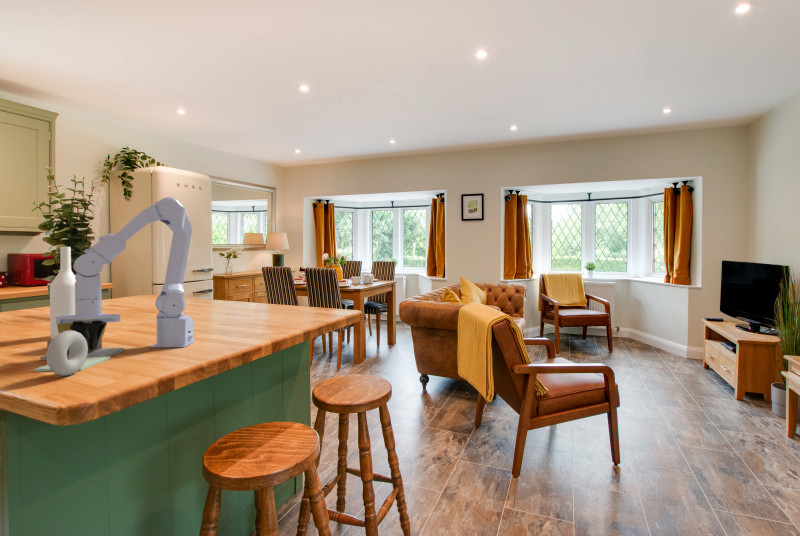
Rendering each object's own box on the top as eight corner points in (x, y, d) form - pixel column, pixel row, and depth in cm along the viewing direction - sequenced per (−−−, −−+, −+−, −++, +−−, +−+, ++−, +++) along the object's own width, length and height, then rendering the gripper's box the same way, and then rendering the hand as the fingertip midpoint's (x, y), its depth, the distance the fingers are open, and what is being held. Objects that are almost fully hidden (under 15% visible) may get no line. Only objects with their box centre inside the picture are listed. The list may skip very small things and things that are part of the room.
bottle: (56, 341, 126) (54, 246, 126) (46, 338, 131) (44, 246, 130) (86, 337, 133) (85, 247, 133) (76, 335, 137) (75, 247, 137)
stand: (124, 350, 114) (124, 335, 114) (102, 359, 104) (102, 342, 104) (67, 351, 113) (67, 336, 112) (40, 360, 103) (40, 343, 103)
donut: (76, 369, 95) (75, 327, 95) (91, 368, 95) (91, 326, 95) (42, 381, 85) (41, 334, 85) (59, 381, 85) (58, 334, 85)
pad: (110, 359, 104) (110, 356, 104) (80, 370, 93) (80, 368, 93) (69, 359, 103) (69, 357, 103) (34, 371, 92) (34, 369, 92)
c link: (101, 348, 113) (101, 334, 113) (80, 355, 104) (80, 340, 104) (71, 349, 112) (71, 334, 112) (47, 356, 104) (47, 341, 104)
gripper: (125, 297, 114) (126, 345, 114) (67, 298, 111) (67, 347, 111) (112, 299, 107) (113, 350, 107) (50, 300, 104) (51, 352, 104)
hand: (89, 349), depth 109 cm, fingers closed on c link
